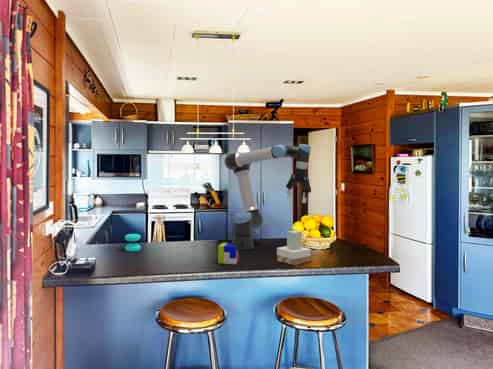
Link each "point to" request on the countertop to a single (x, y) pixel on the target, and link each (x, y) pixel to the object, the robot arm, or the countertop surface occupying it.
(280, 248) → the tower top
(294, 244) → the sage block
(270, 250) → the countertop surface
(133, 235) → the teal spool
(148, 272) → the countertop surface
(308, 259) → the tower base
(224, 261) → the puzzle toy
